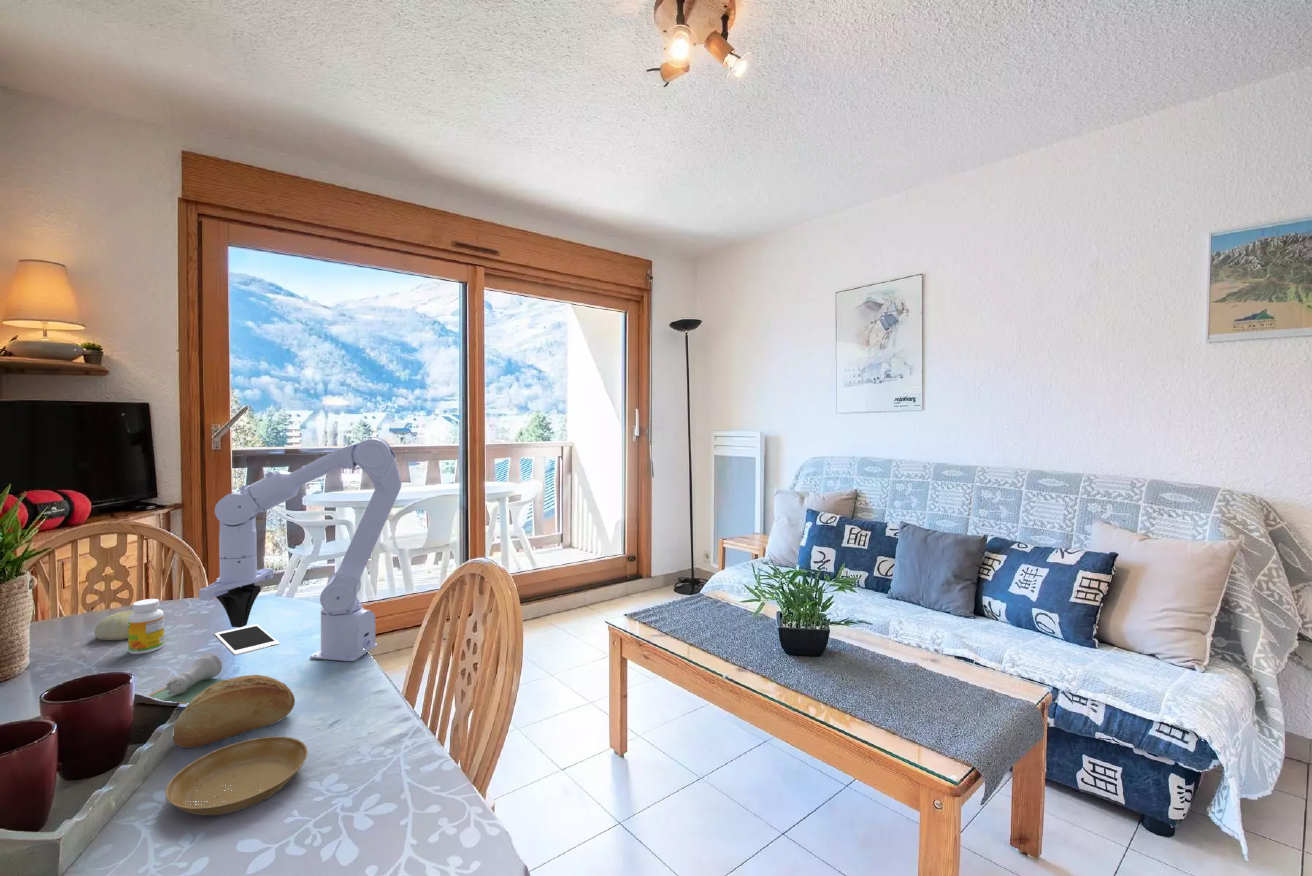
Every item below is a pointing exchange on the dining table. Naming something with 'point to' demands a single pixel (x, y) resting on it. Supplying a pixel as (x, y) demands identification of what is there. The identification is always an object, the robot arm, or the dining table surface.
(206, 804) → the plant saucer
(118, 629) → the sea urchin shell
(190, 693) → the green chalkboard
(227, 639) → the cell phone
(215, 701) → the bread roll
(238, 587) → the robot arm
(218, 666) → the rook chess piece
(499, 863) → the dining table surface
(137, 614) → the supplement bottle
